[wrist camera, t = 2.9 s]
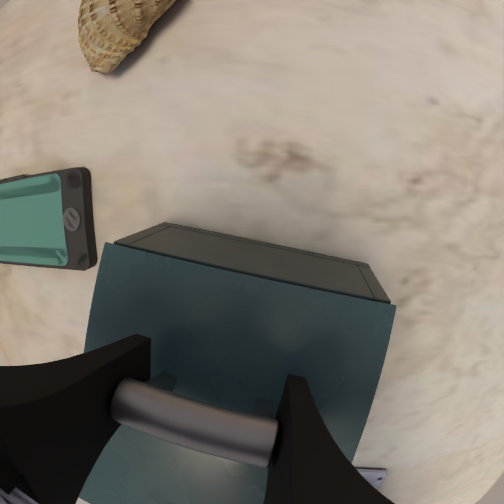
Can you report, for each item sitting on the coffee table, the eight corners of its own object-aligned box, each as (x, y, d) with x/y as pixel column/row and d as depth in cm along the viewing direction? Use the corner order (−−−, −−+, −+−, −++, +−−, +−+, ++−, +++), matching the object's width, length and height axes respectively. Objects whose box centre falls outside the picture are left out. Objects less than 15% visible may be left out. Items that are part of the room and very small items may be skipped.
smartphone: (88, 271, 20) (-18, 262, 22) (98, 266, 21) (-10, 258, 23) (79, 163, 18) (-27, 186, 20) (90, 163, 19) (-18, 184, 22)
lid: (302, 556, 11) (304, 615, 6) (83, 491, 12) (36, 529, 7) (391, 305, 12) (445, 306, 8) (111, 244, 14) (47, 221, 9)
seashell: (196, 62, 19) (203, -61, 13) (156, 75, 15) (164, -84, 8) (107, 66, 20) (109, -44, 14) (57, 83, 16) (57, -49, 9)
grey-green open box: (310, 429, 21) (307, 487, 16) (155, 390, 23) (122, 437, 17) (368, 263, 18) (391, 301, 12) (164, 221, 19) (113, 241, 14)
